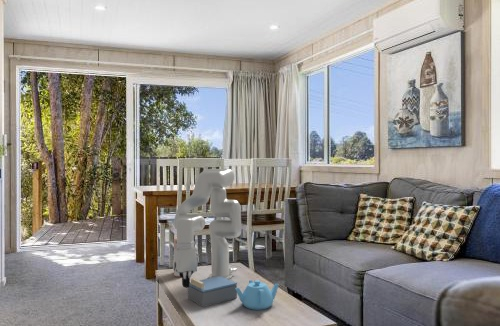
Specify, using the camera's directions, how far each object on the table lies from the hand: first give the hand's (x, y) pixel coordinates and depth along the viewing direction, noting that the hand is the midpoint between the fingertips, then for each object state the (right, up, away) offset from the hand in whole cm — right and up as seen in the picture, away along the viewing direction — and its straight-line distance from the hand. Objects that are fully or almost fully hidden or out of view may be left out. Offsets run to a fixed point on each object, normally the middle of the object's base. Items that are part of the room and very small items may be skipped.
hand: (186, 286), depth 185 cm
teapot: (+32, -8, -1) cm, 33 cm away
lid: (+11, -2, +8) cm, 14 cm away
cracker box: (-9, -8, +50) cm, 52 cm away
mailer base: (+11, -8, +8) cm, 16 cm away
